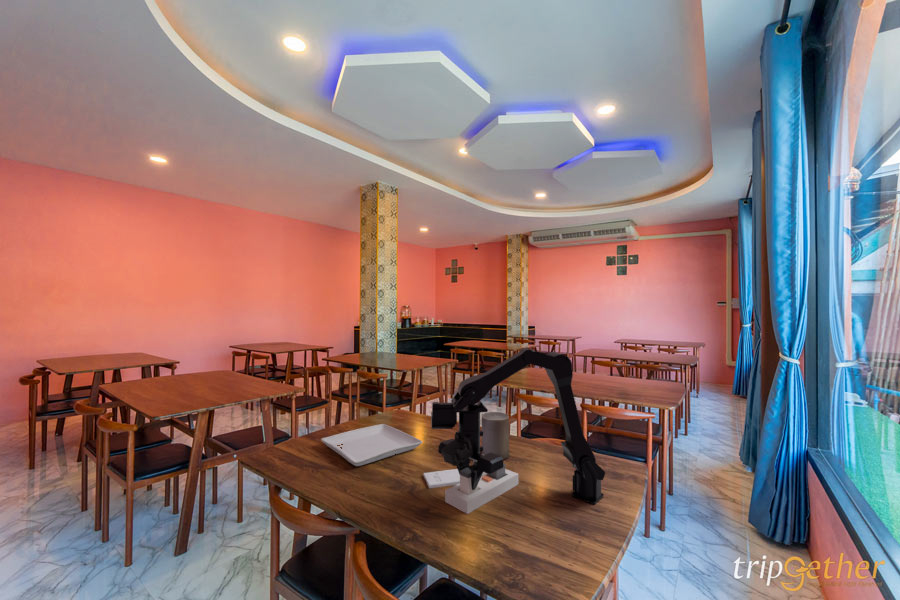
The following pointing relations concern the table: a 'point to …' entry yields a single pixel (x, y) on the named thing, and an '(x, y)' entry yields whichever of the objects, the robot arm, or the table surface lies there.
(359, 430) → the square plate
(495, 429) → the pillar candle
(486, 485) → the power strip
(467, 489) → the cream plug
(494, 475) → the charcoal plug
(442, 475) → the external hard drive
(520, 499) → the table surface
